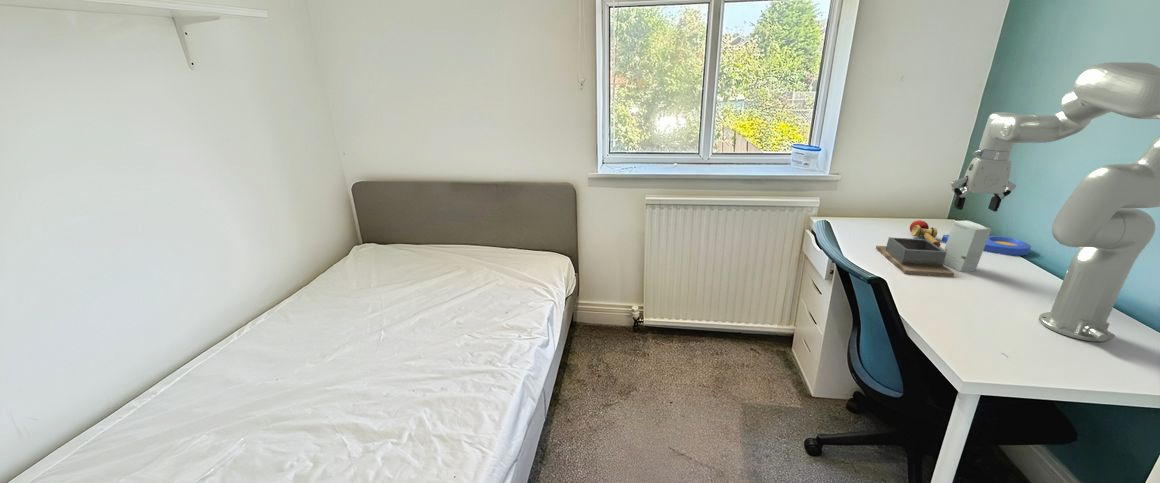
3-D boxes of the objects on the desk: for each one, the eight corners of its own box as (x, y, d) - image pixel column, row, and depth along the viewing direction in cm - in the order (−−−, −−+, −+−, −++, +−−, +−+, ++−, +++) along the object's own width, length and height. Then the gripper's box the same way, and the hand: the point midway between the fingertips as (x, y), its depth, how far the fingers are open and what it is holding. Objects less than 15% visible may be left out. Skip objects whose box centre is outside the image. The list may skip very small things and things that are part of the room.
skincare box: (939, 262, 157) (951, 220, 151) (954, 261, 158) (967, 219, 152) (961, 272, 149) (976, 228, 144) (978, 271, 150) (992, 227, 144)
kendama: (947, 253, 168) (927, 230, 184) (950, 237, 166) (929, 216, 181) (922, 254, 171) (904, 232, 186) (924, 239, 168) (905, 217, 183)
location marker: (944, 248, 170) (1034, 258, 160) (947, 239, 169) (1037, 249, 159) (937, 237, 182) (1020, 246, 171) (939, 229, 180) (1023, 237, 170)
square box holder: (953, 276, 146) (959, 258, 144) (904, 273, 148) (909, 255, 146) (918, 251, 166) (922, 234, 164) (875, 248, 168) (879, 232, 166)
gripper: (968, 156, 138) (951, 211, 145) (1034, 158, 136) (1014, 214, 142) (953, 151, 145) (938, 204, 151) (1016, 153, 142) (998, 207, 149)
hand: (975, 209), depth 147 cm, fingers open, 9 cm apart
